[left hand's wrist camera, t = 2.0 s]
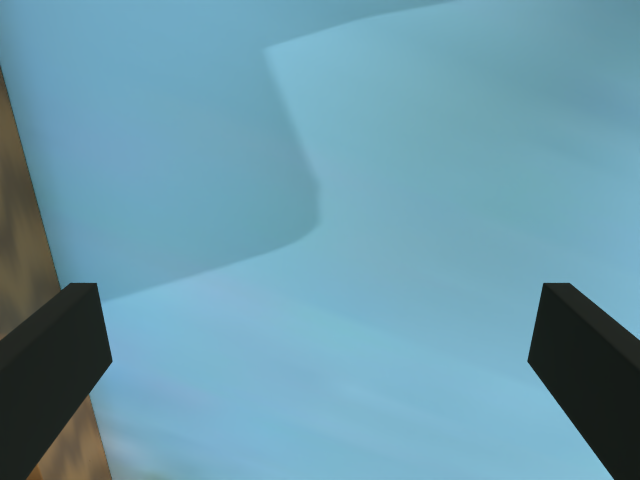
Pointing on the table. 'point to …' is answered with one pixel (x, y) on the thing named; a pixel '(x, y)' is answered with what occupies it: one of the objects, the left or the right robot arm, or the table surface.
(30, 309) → the bar
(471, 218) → the table surface
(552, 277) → the table surface
